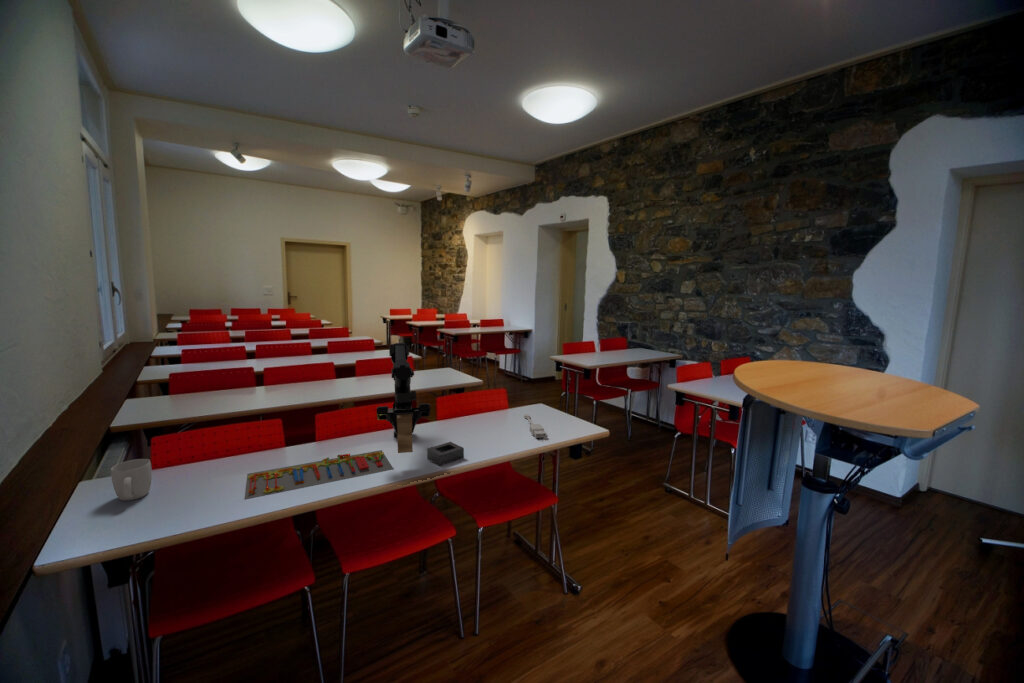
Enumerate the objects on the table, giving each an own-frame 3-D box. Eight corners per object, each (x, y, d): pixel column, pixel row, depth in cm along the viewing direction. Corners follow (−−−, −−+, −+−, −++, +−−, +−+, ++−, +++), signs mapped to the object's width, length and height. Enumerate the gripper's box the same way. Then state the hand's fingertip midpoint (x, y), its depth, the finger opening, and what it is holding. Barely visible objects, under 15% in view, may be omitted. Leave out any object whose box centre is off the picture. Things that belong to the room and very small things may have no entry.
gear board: (381, 445, 166) (393, 464, 150) (381, 451, 167) (393, 471, 150) (247, 468, 144) (244, 493, 128) (247, 475, 144) (244, 501, 128)
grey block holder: (427, 458, 159) (427, 448, 158) (450, 451, 166) (450, 441, 166) (440, 466, 153) (440, 455, 152) (463, 458, 160) (463, 448, 160)
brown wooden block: (397, 449, 151) (396, 415, 149) (411, 448, 153) (411, 413, 151) (397, 453, 148) (397, 417, 147) (412, 451, 150) (411, 416, 148)
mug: (118, 493, 130) (114, 462, 129) (155, 486, 135) (152, 456, 134) (107, 512, 120) (103, 478, 118) (148, 503, 125) (145, 471, 123)
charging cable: (530, 418, 213) (530, 411, 212) (546, 438, 181) (546, 431, 181) (520, 418, 212) (520, 412, 211) (534, 439, 180) (534, 431, 180)
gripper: (375, 384, 148) (376, 425, 139) (429, 381, 154) (433, 420, 145) (376, 400, 157) (377, 439, 148) (427, 397, 162) (431, 434, 153)
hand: (404, 433), depth 148 cm, fingers closed on brown wooden block, 5 cm apart
